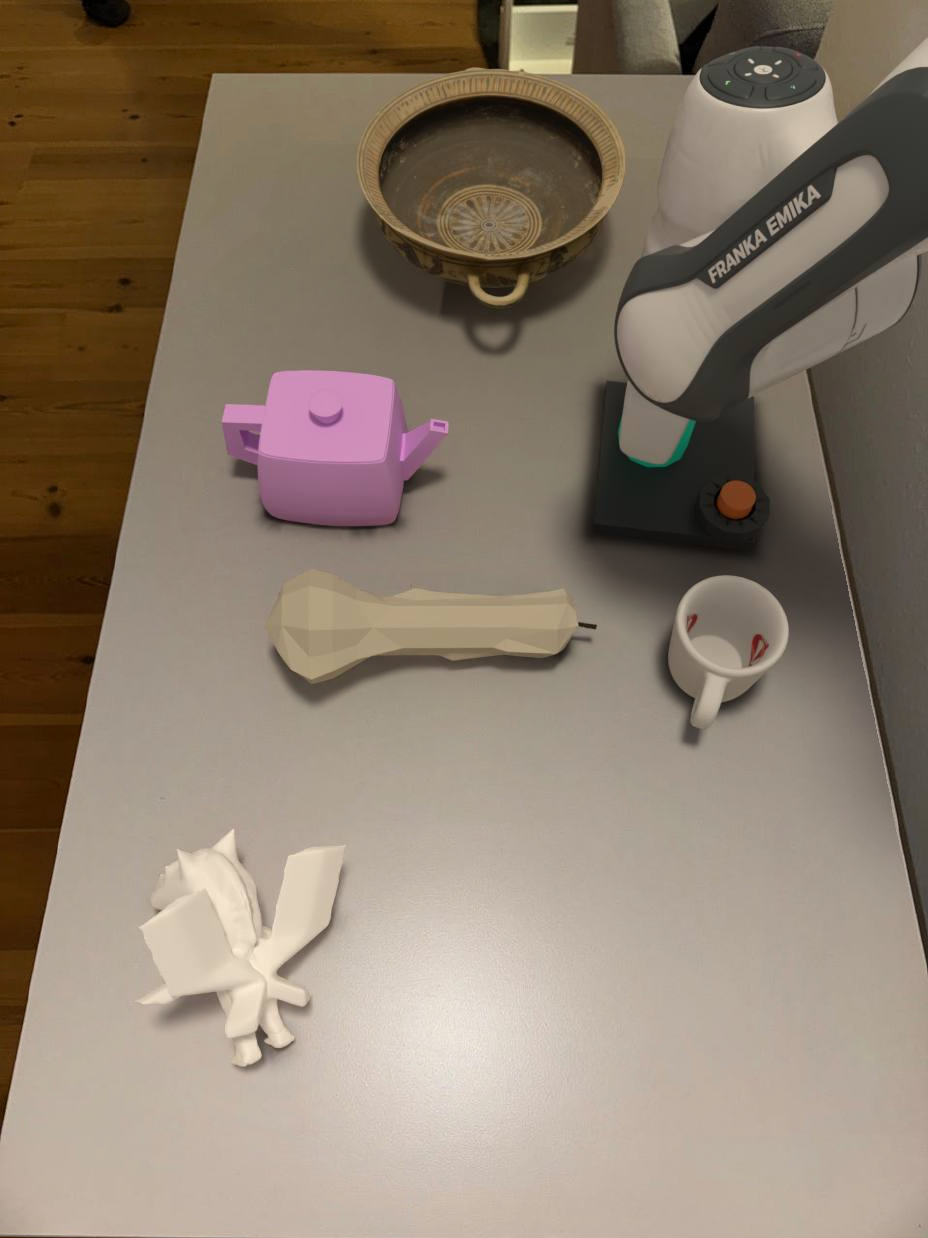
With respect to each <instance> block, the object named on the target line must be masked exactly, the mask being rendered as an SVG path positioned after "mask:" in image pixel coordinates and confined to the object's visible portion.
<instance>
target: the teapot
mask: <svg viewBox="0 0 928 1238" xmlns="http://www.w3.org/2000/svg"><path fill="white" fill-rule="evenodd" d="M266 395H267V396H266V401H265V405H263V404H261V405H259V404H235V403H225V406H224V410H223V414H222V419H221V426H222V427H221V428H222V433H223V437H224V442H225V443H224V444H225V448H226V453H227V456H230V457H233V458H236V459H239V460H242V461H243V462H247V463H250V464H253V465H254V466H257V480H258V489H259V497H260V500H261V503H262V506H263V508H264V510H266V511H267V513H268V514H270V515H271V516H272V517H274V518H276V519H280V520H283V521H284V520H285V521H289V522H295V523H301V524H310V525H316V526H317V525H318V526H328V527H329V526H330V527H375V526H386V525H390V524H393V523H394V522H395V521H396V519H397V516H398V514H399V511H400V507H401V503H402V496H403V491H404V485H405V481H409V479H410V478H411V477H412V476H413V475H414V474H415V473H416V471H418V470H419V468H420V467H421V466H422V465H423V464H424V462H425V461H426V460H427V459H428V458H429V457H430V456H431V454H432V453H433V452H434V451H435V450H436V449H437V448H438V446H439V445H441V443H442V442H443V441H444V440H445V439H446V438H447V436H448V435H449V426H450V425H449V424H450V423H449V422H450V421H446V420H441V419H435V418H430V419H429V421H427V422H425V423H422V424H421V425H418V426H417V427H415V428H413V429H410V431H408V425H407V419H406V413H405V408H404V405H403V401H402V398H401V395H400V393H399V390H398V387H397V385H396V383H395V380H393V379H392V378H389V377H387V376H381V375H375V374H369V373H360V372H351V371H350V372H349V371H339V370H312V369H311V370H309V369H308V370H306V369H305V370H304V369H303V370H284V371H276V372H274V373H273V374H272V375H271V379H270V382H269V387H268V391H267V394H266ZM253 432H257V433H260V434H257V433H253Z"/></svg>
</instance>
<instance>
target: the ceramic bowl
mask: <svg viewBox="0 0 928 1238" xmlns="http://www.w3.org/2000/svg"><path fill="white" fill-rule="evenodd" d="M626 158H627V157H626V150H625V146H624V142H623V139H622V137H621V135H620V132H619V131H618V128H617V127H616V125H615V123H613V121H612V119H611V118H610V117H609V115H608V114H607V113H606V112H605V111H604V109H602V108H601V106H599V105H598V104H597V103H596V102H595V101H594V100H592V99H591V98H589V97H588V96H586V95H585V94H584V93H583V92H580V91H579V90H577V89H575V88H574V87H572V86H570V85H568V84H565V83H562V82H561V81H558V80H555V79H552V78H550V77H547V76H544V75H540V74H537V73H536V74H535V73H531V72H527V71H522V70H508V69H505V68H491V69H490V68H483V67H469V68H466V69H464V70H460V71H454V72H450V73H446V74H445V75H443V74H442V75H439V76H435V77H431V78H430V79H426V80H425V81H424V82H419V83H417V84H415V85H413V86H411V87H409V88H407V89H406V90H404V91H402V92H400V93H398V94H397V95H396V96H394V97H392V98H391V99H390V100H389V101H387V102H386V103H385V104H384V105H383V106H382V107H381V108H380V109H379V110H378V111H377V112H376V113H375V114H374V116H373V117H372V118H371V119H370V121H369V122H368V124H367V125H366V126H365V129H364V131H363V132H362V134H361V137H360V139H359V142H358V146H357V150H356V164H355V165H356V174H357V181H358V183H359V186H360V188H361V191H362V194H363V196H364V199H366V201H367V202H368V204H369V205H370V207H371V209H372V210H373V212H374V216H375V219H376V221H377V224H378V227H379V228H380V230H381V233H382V234H383V236H384V237H385V238H386V240H387V241H388V242H389V244H390V245H391V246H392V248H394V250H395V251H396V252H397V253H398V254H399V255H400V256H402V257H403V258H404V259H405V260H406V261H408V262H409V263H410V264H411V265H413V266H414V267H416V268H417V269H419V270H421V271H422V272H425V273H426V274H429V276H433V277H435V278H438V279H441V280H443V281H446V282H448V283H449V282H450V283H453V284H457V285H461V286H467V287H468V288H469V291H470V293H471V294H472V297H474V298H475V300H477V301H478V303H481V304H482V305H484V306H486V307H487V308H495V309H507V308H510V307H513V306H515V305H517V304H518V303H520V302H521V301H522V300H523V298H524V297H525V295H526V293H527V291H528V287H529V284H530V283H533V282H536V281H539V280H541V279H544V278H547V277H549V276H552V275H553V274H555V273H557V272H559V271H560V270H562V269H564V268H566V267H567V266H568V265H570V264H571V263H573V262H574V261H576V260H577V259H578V258H579V257H580V256H581V255H582V254H583V253H584V252H585V251H586V250H587V249H588V247H589V246H590V245H591V244H592V243H593V241H594V240H595V239H596V237H597V235H598V234H599V232H600V230H601V229H602V226H603V224H604V220H605V218H606V216H607V214H608V213H609V212H610V211H611V210H612V208H613V206H614V204H615V202H616V200H617V199H618V196H619V194H620V192H621V190H622V186H623V183H624V180H625V177H626V168H627V159H626ZM506 287H507V288H509V287H510V288H511V287H514V289H513V290H512V291H511V292H510V293H509V294H507V295H503V296H494V295H491V294H488V293H487V292H486V291H484V290H483V288H494V289H496V288H506Z"/></svg>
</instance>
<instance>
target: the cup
mask: <svg viewBox="0 0 928 1238" xmlns="http://www.w3.org/2000/svg"><path fill="white" fill-rule="evenodd" d="M789 631H790V630H789V622H788V616H787V614H786V612H785V610H784V608H783V606H782V605H781V603H780V601H778V599H777V598H776V596H774V594H772V592H770V591H769V590H768V589H767V588H766V587H764V586H762V585H761V584H759V583H758V582H756V581H753V580H751V579H748V578H746V577H742V576H738V575H722V574H721V575H716V576H711V577H707V578H705V579H703V580H701V581H699V582H697V583H695V584H694V585H692V587H690V588H689V589H688V590H687V591H686V592H685V594H684V595H683V596H682V598H681V600H680V601H679V604H678V606H677V609H676V613H675V618H674V622H673V628H672V631H671V637H670V642H669V647H668V652H667V654H668V655H667V661H668V669H669V671H670V674H671V676H672V678H673V680H674V682H675V683H676V684H677V686H678V687H679V688H680V690H682V691H683V692H684V693H685V694H686V695H688V696H690V697H692V698H693V699H694V700H693V701H694V702H693V705H692V709H691V713H690V719H689V721H690V725H691V726H692V727H695V728H698V729H700V730H707V729H709V728H710V727H711V726H712V724H714V721H715V719H716V717H717V715H718V713H719V710H720V707H721V704H722V703H725V702H728V701H733V700H734V699H736V698H738V697H740V696H741V695H743V694H744V693H746V692H747V691H748V690H749V689H750V688H751V687H752V686H753V685H755V683H757V682H758V681H759V680H760V679H761V678H762V677H763V676H764V675H765V674H766V673H767V672H768V671H769V670H770V669H771V668H773V666H774V665H776V664H777V663H778V661H779V660H780V659H781V657H782V656H783V655H784V653H785V650H786V648H787V645H788V642H789V636H790V632H789Z"/></svg>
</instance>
